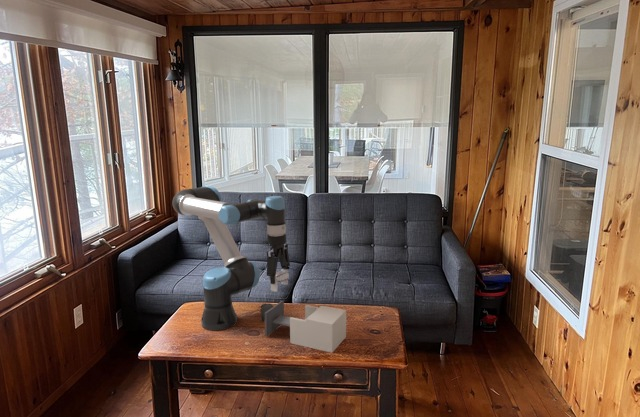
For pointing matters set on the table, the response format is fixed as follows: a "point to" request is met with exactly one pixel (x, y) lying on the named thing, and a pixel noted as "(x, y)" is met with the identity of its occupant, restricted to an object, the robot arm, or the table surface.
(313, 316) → the housing
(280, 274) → the disc
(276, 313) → the grey plate and rod
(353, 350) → the table surface
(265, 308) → the stand
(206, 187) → the robot arm
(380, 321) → the table surface
